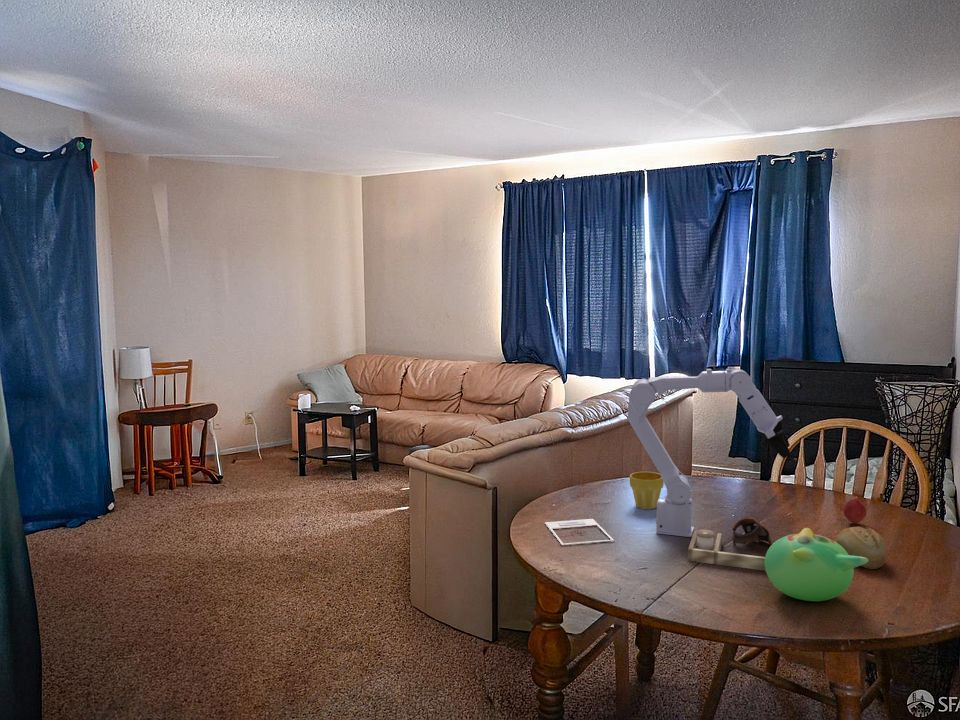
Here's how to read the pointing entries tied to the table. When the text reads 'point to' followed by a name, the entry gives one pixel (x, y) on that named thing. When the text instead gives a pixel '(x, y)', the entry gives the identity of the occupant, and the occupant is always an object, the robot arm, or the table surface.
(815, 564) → the toy bird
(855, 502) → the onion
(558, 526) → the photo frame
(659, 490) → the plant pot
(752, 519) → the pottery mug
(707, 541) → the cream jar
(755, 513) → the table surface
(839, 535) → the bread roll
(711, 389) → the robot arm
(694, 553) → the bracket
